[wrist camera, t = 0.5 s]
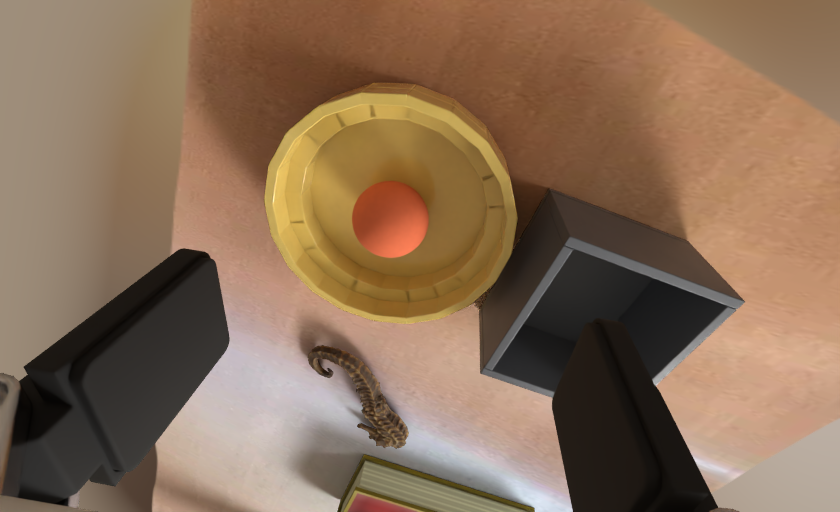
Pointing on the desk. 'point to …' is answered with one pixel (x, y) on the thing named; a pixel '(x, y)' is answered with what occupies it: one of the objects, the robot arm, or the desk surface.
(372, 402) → the seahorse
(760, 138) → the desk surface
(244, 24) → the desk surface
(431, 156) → the bowl
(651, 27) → the desk surface
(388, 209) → the toy ball
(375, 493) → the hardcover book
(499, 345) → the bin
